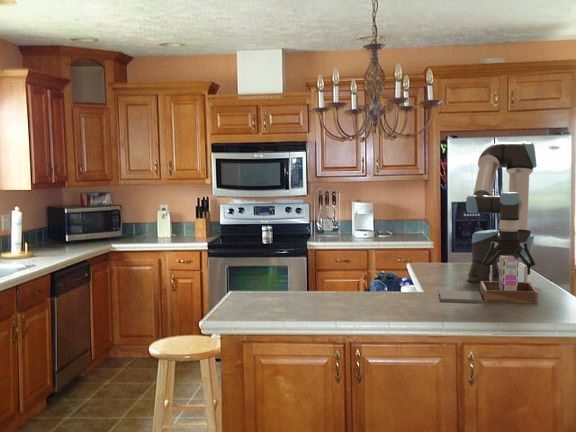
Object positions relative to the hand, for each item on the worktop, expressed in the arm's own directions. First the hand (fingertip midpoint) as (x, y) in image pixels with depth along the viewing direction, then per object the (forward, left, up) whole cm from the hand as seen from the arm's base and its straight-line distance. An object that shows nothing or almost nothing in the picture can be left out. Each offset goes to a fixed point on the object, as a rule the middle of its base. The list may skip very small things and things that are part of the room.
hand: (508, 282), depth 265 cm
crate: (0, 0, -6) cm, 6 cm away
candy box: (0, 0, -7) cm, 7 cm away
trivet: (+4, -19, -6) cm, 20 cm away
